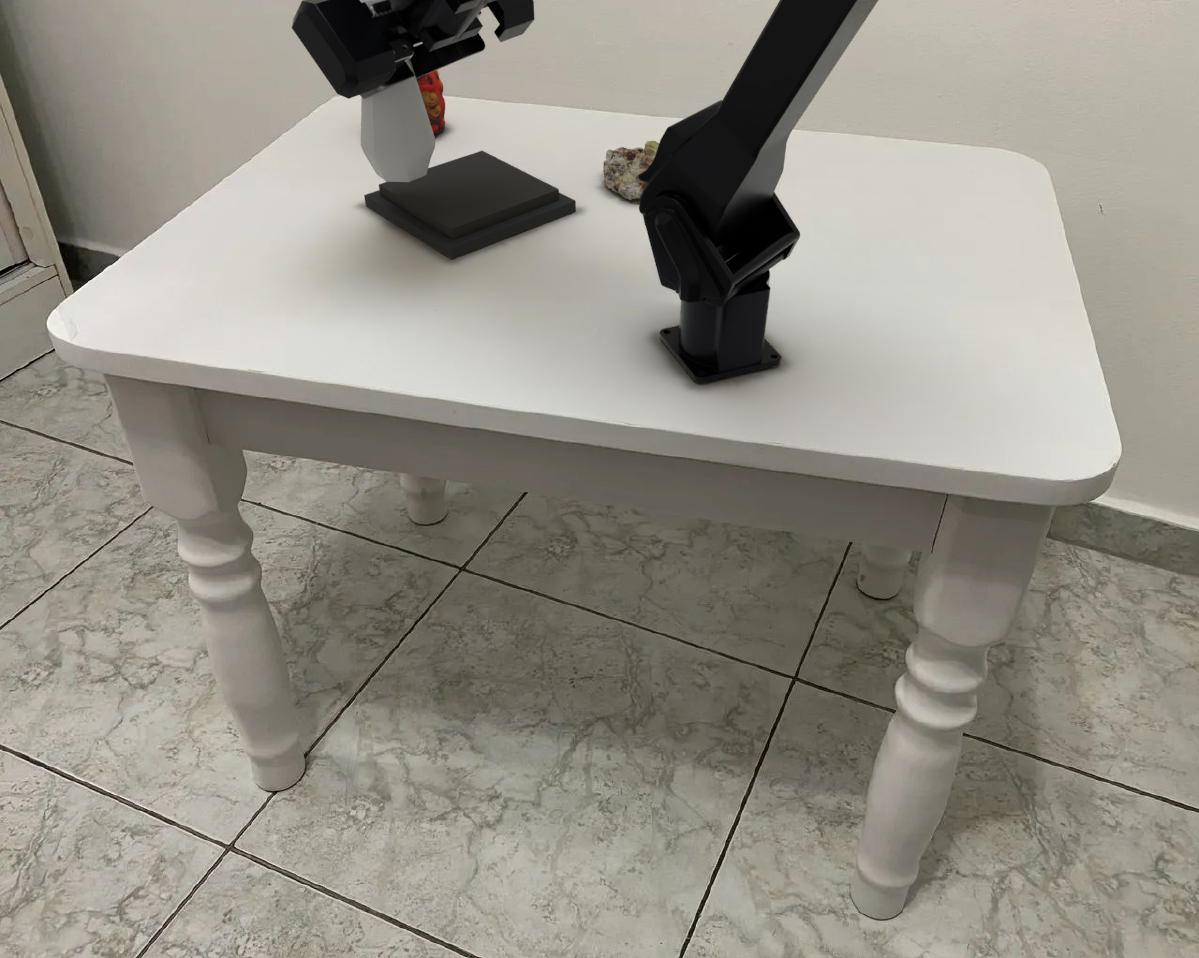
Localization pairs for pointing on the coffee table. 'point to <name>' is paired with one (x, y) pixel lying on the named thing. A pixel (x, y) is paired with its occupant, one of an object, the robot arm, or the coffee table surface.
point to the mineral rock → (628, 169)
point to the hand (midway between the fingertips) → (378, 86)
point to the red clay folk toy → (433, 99)
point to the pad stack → (469, 203)
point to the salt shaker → (397, 130)
